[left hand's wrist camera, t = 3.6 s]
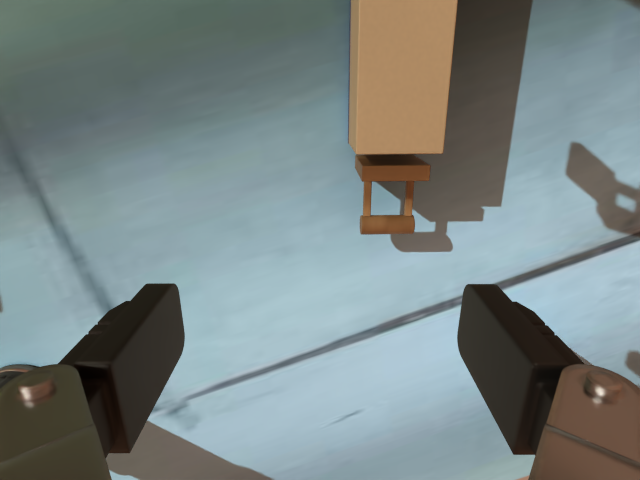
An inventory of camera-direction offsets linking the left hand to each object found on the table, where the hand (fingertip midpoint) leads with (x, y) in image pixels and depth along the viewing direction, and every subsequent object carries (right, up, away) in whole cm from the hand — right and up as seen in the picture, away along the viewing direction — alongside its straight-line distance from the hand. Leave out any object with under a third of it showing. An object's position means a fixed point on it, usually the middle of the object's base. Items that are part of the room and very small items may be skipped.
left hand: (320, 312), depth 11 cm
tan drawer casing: (+6, +20, +22) cm, 30 cm away
